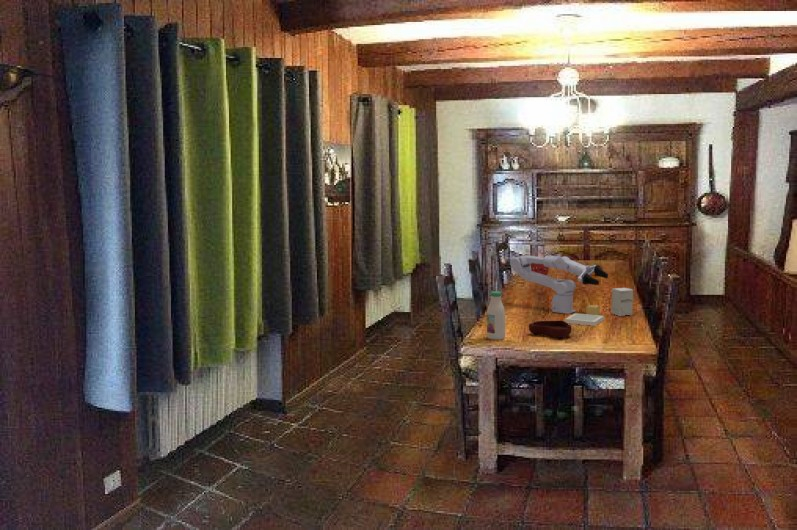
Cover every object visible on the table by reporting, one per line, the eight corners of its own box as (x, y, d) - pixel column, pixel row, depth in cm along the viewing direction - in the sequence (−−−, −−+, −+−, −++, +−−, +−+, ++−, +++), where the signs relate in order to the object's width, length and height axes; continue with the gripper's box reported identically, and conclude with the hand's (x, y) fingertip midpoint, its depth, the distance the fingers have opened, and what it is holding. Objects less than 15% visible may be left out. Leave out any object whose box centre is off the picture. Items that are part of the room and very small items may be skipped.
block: (586, 317, 344) (586, 306, 343) (590, 315, 347) (590, 304, 346) (595, 318, 341) (595, 307, 340) (599, 316, 344) (599, 305, 343)
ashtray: (581, 334, 311) (581, 322, 311) (562, 341, 299) (562, 329, 299) (545, 328, 323) (545, 317, 323) (525, 335, 311) (525, 324, 311)
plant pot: (526, 281, 449) (526, 262, 448) (529, 277, 462) (529, 259, 460) (548, 281, 446) (548, 262, 444) (550, 278, 458) (550, 259, 456)
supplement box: (619, 316, 342) (620, 290, 340) (610, 313, 349) (611, 288, 347) (633, 315, 344) (633, 289, 342) (624, 312, 351) (624, 287, 349)
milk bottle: (503, 335, 311) (503, 290, 308) (506, 339, 304) (506, 293, 301) (485, 336, 311) (485, 290, 308) (488, 340, 303) (488, 293, 301)
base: (564, 323, 332) (564, 318, 331) (574, 317, 343) (574, 313, 343) (595, 326, 324) (595, 321, 324) (604, 320, 336) (604, 315, 336)
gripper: (570, 268, 342) (595, 279, 333) (587, 256, 350) (612, 266, 341) (569, 281, 346) (593, 291, 337) (586, 268, 354) (610, 278, 345)
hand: (603, 279), depth 340 cm, fingers open, 7 cm apart
